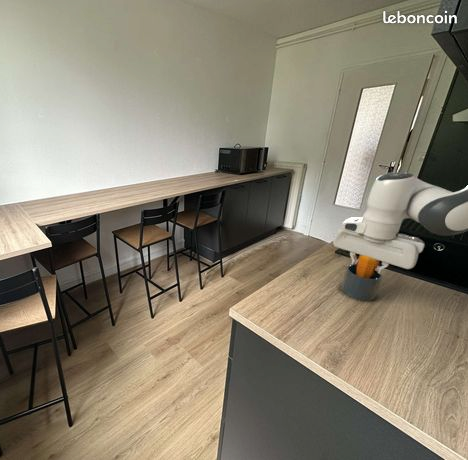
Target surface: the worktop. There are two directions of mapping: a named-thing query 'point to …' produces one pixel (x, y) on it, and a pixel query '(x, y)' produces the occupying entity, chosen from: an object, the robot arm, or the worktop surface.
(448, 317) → the worktop surface
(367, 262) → the carrot
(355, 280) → the tumbler
